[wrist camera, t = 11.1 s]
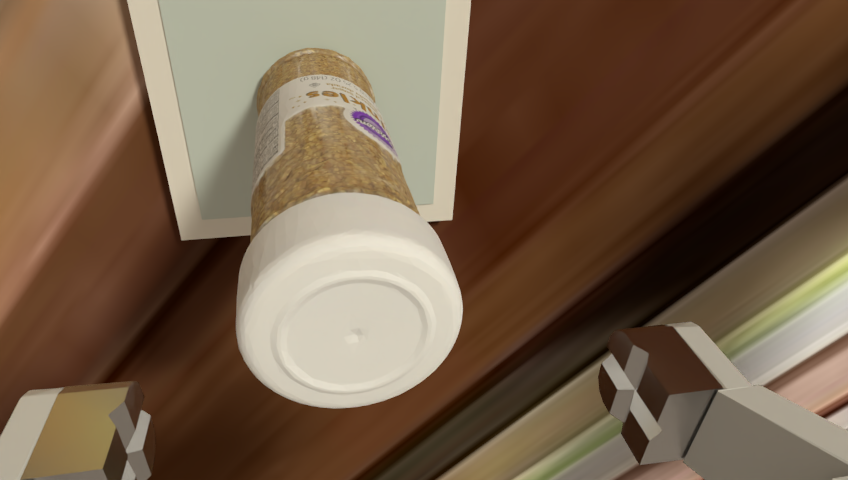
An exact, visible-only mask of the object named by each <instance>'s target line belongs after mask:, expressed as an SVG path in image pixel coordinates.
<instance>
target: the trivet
mask: <svg viewBox="0 0 848 480" xmlns="http://www.w3.org/2000/svg"><path fill="white" fill-rule="evenodd" d="M127 2H128V7H129V11H130V16H131V20H132V24H133V29H134V33H135V38H136V42H137V47H138V51H139V55H140V60H141V64H142V69H143V73H144V77H145V82H146V86H147V91H148V95H149V99H150V104H151V108H152V113H153V117H154V121H155V126H156V130H157V135H158V139H159V143H160V148H161V152H162V157H163V161H164V165H165V170H166V174H167V179H168V183H169V187H170V192H171V196H172V201H173V205H174V209H175V214H176V218H177V223H178V227H179V231H180V236H181V240H194V239H207V238H220V237H233V236H246V235H251V222H252V219H251V210H250V209H251V193H252V180H253V167H254V152H255V136H256V126H257V121H258V118H259V117H258V112H257V93H258V89H259V87H260V84H261V81H262V78H263V75H264V74H265V73H266V72H267V71H268V70H269V68H270V67H271V66H272V65H273V64H274V63H275V62H276V61H277V60H279V59H280V58H282V57H284V56H285V55H287V54H288V53H290V52H293V51H296V50H300V49H304V48H321V49H329V50H333V51H336V52H338V53H340V54H342V55H345V56H347V57H349V58H350V59H351V60H352V61H353V62H354V63H356V64H357V65H358V66H359V67H360V68H361V69H362V71H363V72H364V74H365V76H366V77H367V79H368V80H369V82H370V84H371V87H372V90H373V93H374V96H375V104H376V106H377V107H378V109H379V111H380V113H381V115H382V117H383V120H384V122H385V125H386V127H387V130H388V132H389V135H390V137H391V140H392V142H393V145H394V147H395V150H396V152H397V155H398V157H399V160H400V162H401V167H402V173H403V175H404V178H405V180H406V183H407V185H408V188H409V190H410V192H411V194H412V197H413V200H414V202H415V205H416V207H417V209H418V211H419V214H420V216H421V217H422V218H423V219H424V220H425V221H426V222H429V221H442V220H452V216H453V204H454V193H455V181H456V169H457V158H458V146H459V134H460V123H461V111H462V100H463V88H464V76H465V65H466V53H467V41H468V30H469V18H470V7H471V0H127Z"/></svg>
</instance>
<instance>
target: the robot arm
mask: <svg viewBox="0 0 848 480" xmlns="http://www.w3.org/2000/svg"><path fill="white" fill-rule="evenodd" d="M607 347H608V348H609V350H610V351H611V353H612V354H611V355H610V356H609V357H608V358H607V359H606V360H605V361H604V362H603V363H602V364H601V368H600V372H599V376H598V379H599V390H600V394H601V397H602V400H603V402H604V404H605V406H606V408H607V410H608V411H609V413H610V414H611V415H613V416H614V417H616V418H617V419H619V420H620V421H622V422H623V426H622V432H621V434H622V436H623V437H624V439H625V441H626V443H627V444H628V446H629V448H630V449H631V451H632V453H633V455H634V456H635V458H636V460H637V461H638V463H639V465H643V464H651V463H659V462H667V461H675V460H683V459H684V461H683V462H684V463H685V464H686V465H687V466H689V467H690V468H691V469H692V470H694V471H695V472H696V473H697V474H699V475H700V476H701V477H702V478H704V479H705V480H848V431H847V430H845V429H843V428H841V427H839V426H838V425H836V424H834V423H832V422H830V421H828V420H826V419H824V418H822V417H820V416H818V415H816V414H815V413H813V412H811V411H809V410H807V409H805V408H803V407H801V406H799V405H797V404H795V403H793V402H792V401H790V400H788V399H786V398H784V397H782V396H780V395H778V394H776V393H774V392H772V391H770V390H769V389H767V388H765V387H763V386H761V385H754V386H752V385H751V384H750V383H749V382H748V381H747V379H746V378H745V377H744V376H743V375H742V374H741V373H740V371H739V370H738V369H737V368H736V367H735V366H734V365H733V364H732V362H731V361H730V360H729V359H728V358H727V357H726V356H725V355H724V353H723V352H722V351H721V350H720V349H719V348H718V347H717V346H716V344H715V343H714V342H713V341H712V340H711V339H710V338H709V337H708V335H707V334H706V333H705V332H704V331H703V330H702V329H701V328H700V326H698V325H697V324H695V323H693V322H683V323H674V324H666V325H656V326H648V327H639V328H630V329H622V330H616V331H615V332H614V333H613V334H612V335H611V336H610V339H609V342H608V345H607ZM143 401H144V394H143V392H142V389H141V386H140V384H139V382H135V381H130V382H117V383H105V384H93V385H81V386H68V387H64V388H52V389H39V390H29V391H28V392H27V393H26V394H24V395H23V396H22V397H21V398H20V399H19V401H18V403H17V405H16V407H15V409H14V411H13V413H12V415H11V417H10V418H9V420H8V422H7V424H6V426H5V428H4V430H3V432H2V434H1V436H0V480H147V479H148V478H149V477H150V476H151V474H152V470H153V465H154V460H155V447H156V437H155V429H154V424H153V421H152V418H151V415H149V414H147V413H146V412H144V411H142V410H141V408H142V404H143Z"/></svg>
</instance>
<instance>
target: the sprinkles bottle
mask: <svg viewBox="0 0 848 480" xmlns="http://www.w3.org/2000/svg"><path fill="white" fill-rule="evenodd" d="M257 112H258V117H259V118H258V121H257V126H256V136H255V152H254V167H253V180H252V193H251V209H250V210H251V219H252V222H251V238H250V245H249V247H248V248H247V250H246V253H245V255H244V257H243V260H242V263H241V267H240V271H239V279H238V290H237V307H236V336H237V341H238V346H239V350H240V352H241V354H242V356H243V359H244V361H245V363H246V364H247V366H248V367H249V369H250V370H251V372H252V373H253V374H254V375H255V376H256V378H257V379H258V380H259V381H261V382H262V383H263V384H264V385H265V386H266V387H268V388H270V389H271V390H273V391H274V392H276V393H277V394H279V395H281V396H283V397H285V398H287V399H290V400H292V401H295V402H298V403H301V404H305V405H309V406H316V407H322V408H351V407H359V406H365V405H370V404H374V403H377V402H381V401H384V400H387V399H390V398H392V397H395V396H397V395H400V394H402V393H403V392H405V391H407V390H409V389H411V388H412V387H414V386H416V385H417V384H419V383H420V382H421V381H423V380H424V379H426V378H427V377H428V376H429V375H430V374H431V373H432V372H434V371H435V370H436V369H437V367H438V366H439V365H440V364H441V363H442V362H443V361H444V359H445V358H446V357H447V355H448V354H449V352H450V351H451V349H452V347H453V345H454V343H455V341H456V339H457V336H458V333H459V330H460V326H461V322H462V313H463V306H462V297H461V292H460V289H459V286H458V282H457V280H456V277H455V274H454V272H453V269H452V267H451V264H450V261H449V259H448V257H447V254H446V252H445V250H444V248H443V246H442V243H441V241H440V239H439V237H438V236H437V234H436V233H435V231H434V230H433V229H432V227H431V226H430V225H429V224H428V223H427V222H426V221H425V220H424V219H423V218H422V217H421V216H420V214H419V211H418V209H417V207H416V205H415V202H414V200H413V197H412V194H411V192H410V190H409V188H408V185H407V183H406V180H405V178H404V175H403V173H402V167H401V162H400V160H399V157H398V155H397V152H396V150H395V147H394V145H393V142H392V140H391V137H390V135H389V132H388V130H387V127H386V125H385V122H384V120H383V117H382V115H381V113H380V111H379V109H378V107H377V106H376V104H375V96H374V93H373V90H372V87H371V84H370V82H369V80H368V79H367V77H366V76H365V74H364V72H363V71H362V69H361V68H360V67H359V66H358V65H357V64H356V63H354V62H353V61H352V60H351V59H350V58H349V57H347V56H345V55H342V54H340V53H338V52H336V51H333V50H329V49H321V48H304V49H300V50H296V51H293V52H290V53H288V54H287V55H285V56H284V57H282V58H280V59H279V60H277V61H276V62H275V63H274V64H273V65H272V66H271V67H270V68H269V70H268V71H267V72H266V73H265V74H264V75H263V78H262V81H261V84H260V87H259V89H258V93H257Z"/></svg>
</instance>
